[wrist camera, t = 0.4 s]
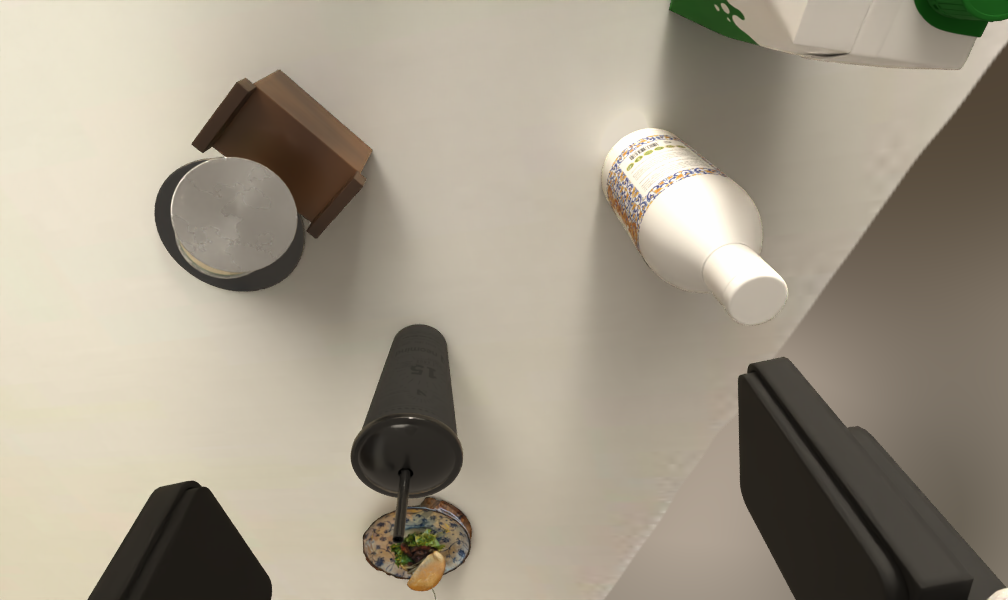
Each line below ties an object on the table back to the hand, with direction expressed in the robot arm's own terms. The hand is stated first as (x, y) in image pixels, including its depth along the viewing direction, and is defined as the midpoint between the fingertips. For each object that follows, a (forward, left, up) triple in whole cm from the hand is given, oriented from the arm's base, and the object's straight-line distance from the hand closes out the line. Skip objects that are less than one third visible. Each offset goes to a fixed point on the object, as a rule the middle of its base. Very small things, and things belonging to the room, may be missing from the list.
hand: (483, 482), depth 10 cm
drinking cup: (+12, -19, -36) cm, 42 cm away
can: (-6, -16, -29) cm, 34 cm away
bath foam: (+14, +5, -36) cm, 39 cm away
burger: (+28, -38, -36) cm, 59 cm away
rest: (-6, -10, -36) cm, 38 cm away
